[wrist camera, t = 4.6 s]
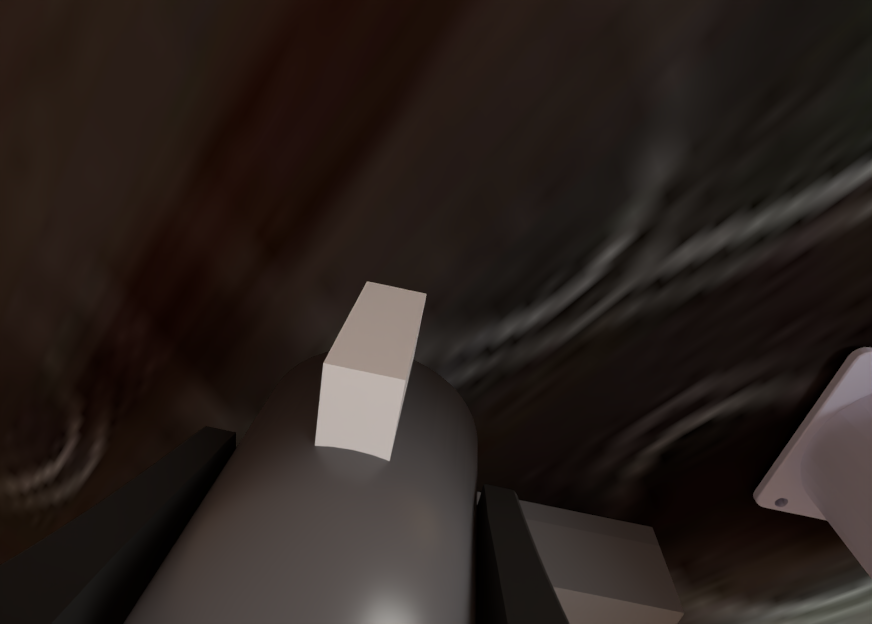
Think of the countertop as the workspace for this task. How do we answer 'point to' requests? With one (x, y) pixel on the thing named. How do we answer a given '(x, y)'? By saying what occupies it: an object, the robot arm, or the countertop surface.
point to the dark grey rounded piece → (338, 495)
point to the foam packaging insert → (603, 567)
